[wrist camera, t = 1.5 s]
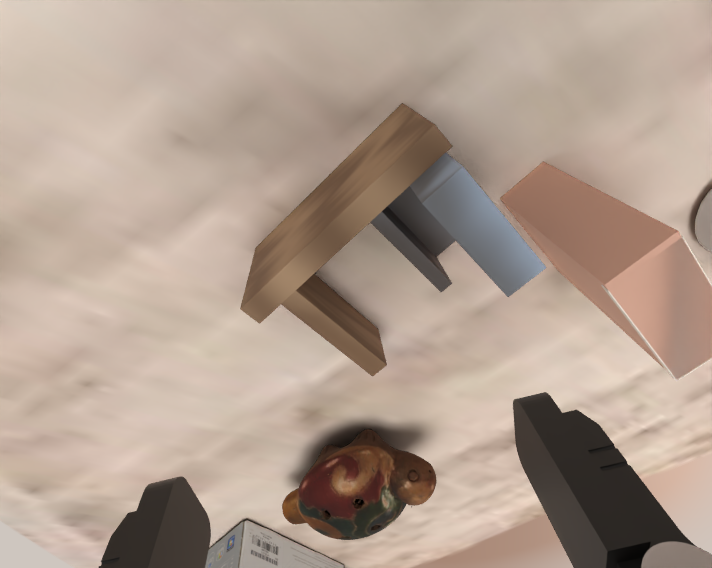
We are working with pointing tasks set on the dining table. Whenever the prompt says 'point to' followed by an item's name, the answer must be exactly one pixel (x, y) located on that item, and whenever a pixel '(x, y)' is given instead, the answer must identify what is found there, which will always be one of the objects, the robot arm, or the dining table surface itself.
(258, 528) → the hard drive box
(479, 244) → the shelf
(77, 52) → the dining table surface
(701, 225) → the can
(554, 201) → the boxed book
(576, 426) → the robot arm
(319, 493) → the decorative turtle
